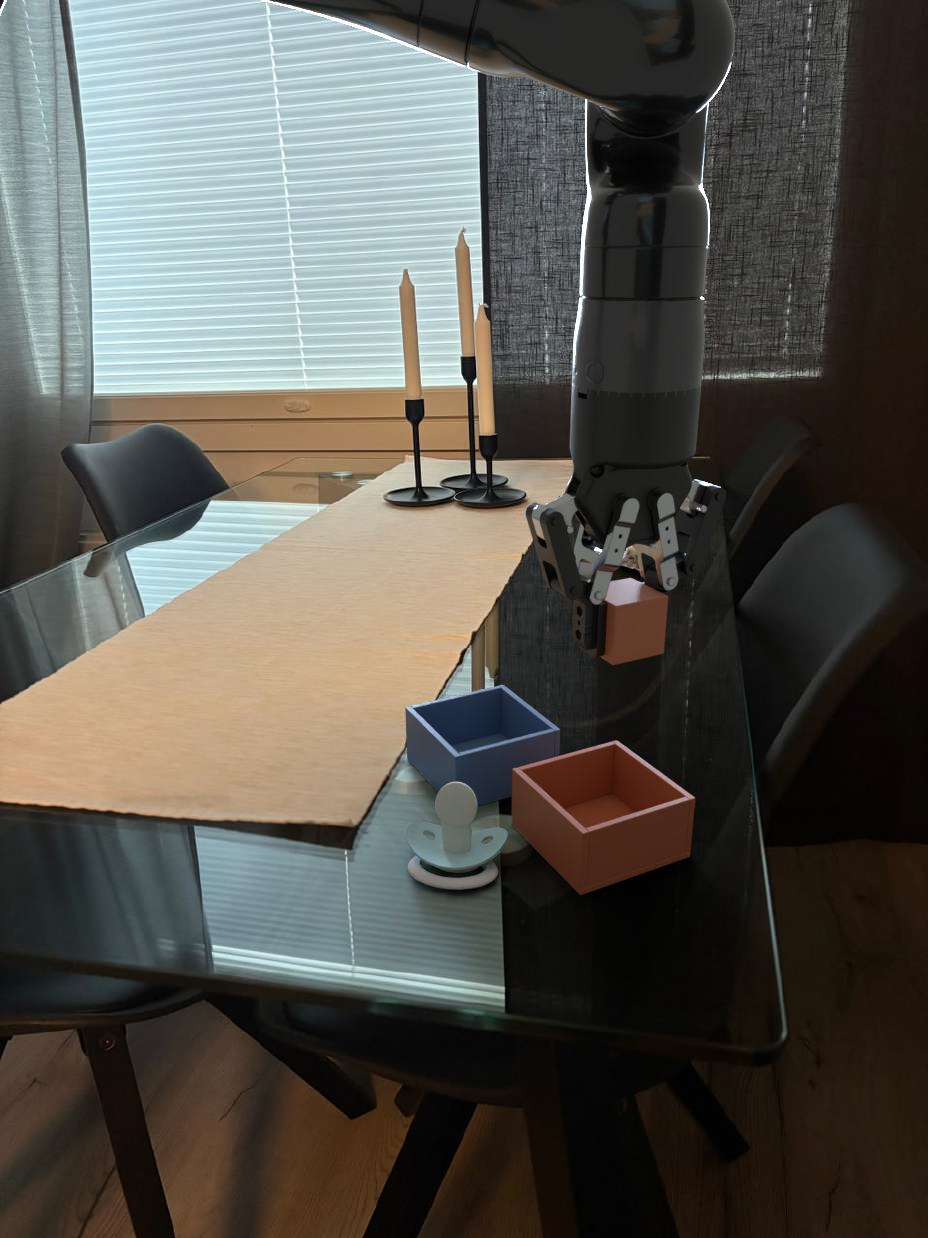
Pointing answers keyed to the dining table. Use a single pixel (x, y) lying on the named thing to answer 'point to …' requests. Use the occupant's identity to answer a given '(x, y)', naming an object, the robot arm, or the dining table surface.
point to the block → (634, 621)
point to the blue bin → (478, 740)
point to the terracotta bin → (601, 815)
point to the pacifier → (454, 842)
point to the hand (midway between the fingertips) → (620, 644)
